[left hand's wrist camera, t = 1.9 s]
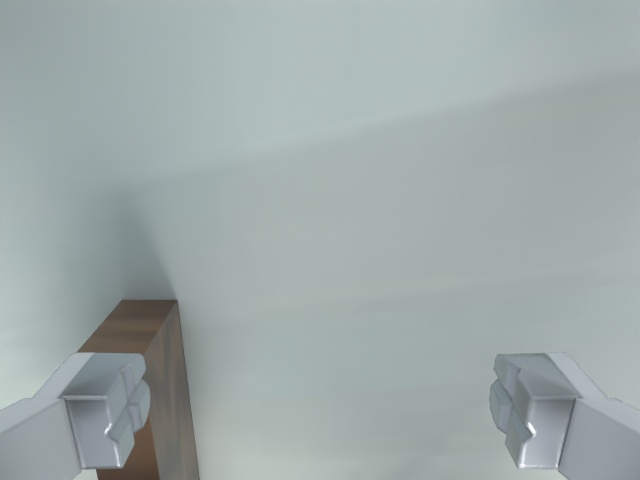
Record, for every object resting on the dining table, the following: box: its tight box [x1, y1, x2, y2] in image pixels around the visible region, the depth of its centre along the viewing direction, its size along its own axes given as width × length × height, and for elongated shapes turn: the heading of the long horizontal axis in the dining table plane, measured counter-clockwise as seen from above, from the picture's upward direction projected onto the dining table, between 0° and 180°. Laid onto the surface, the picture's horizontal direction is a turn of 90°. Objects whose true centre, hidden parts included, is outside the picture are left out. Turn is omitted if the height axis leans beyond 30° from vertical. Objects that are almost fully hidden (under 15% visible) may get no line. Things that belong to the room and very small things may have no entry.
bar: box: [77, 300, 199, 480], centre depth 41 cm, size 24×5×9 cm, turn 0°
